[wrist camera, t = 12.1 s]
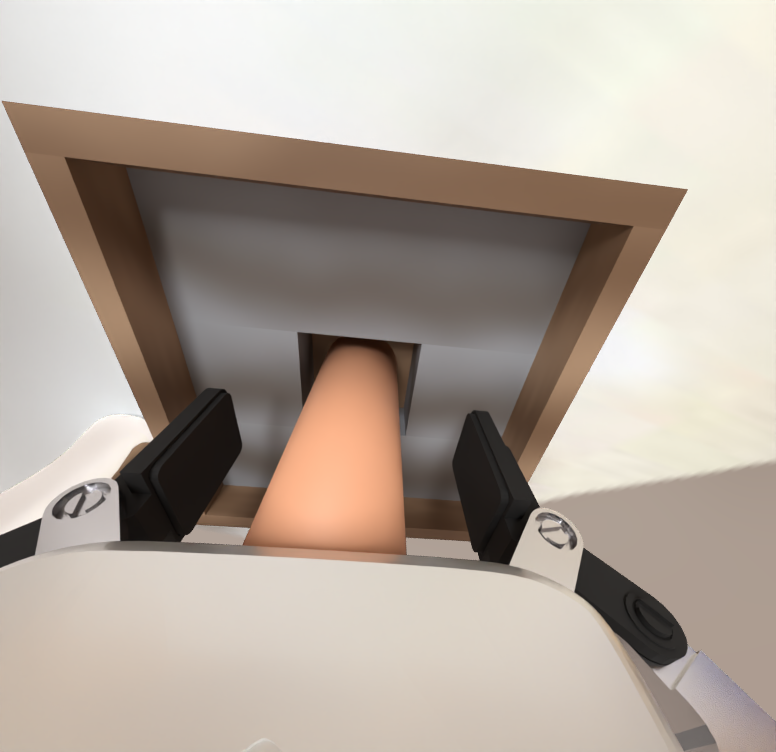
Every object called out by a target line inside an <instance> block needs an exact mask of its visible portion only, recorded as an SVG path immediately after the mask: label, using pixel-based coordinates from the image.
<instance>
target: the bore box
mask: <svg viewBox="0 0 776 752" xmlns="http://www.w3.org/2000/svg"><path fill="white" fill-rule="evenodd" d="M2 103H3V105H4V107H5V110H6V112H7V114H8V116H9V119H10V121H11V123H12V125H13V127H14V130H15V132H16V134H17V136H18V139H19V141H20V143H21V145H22V147H23V150H24V152H25V154H26V156H27V159H28V161H29V163H30V165H31V168H32V170H33V172H34V174H35V176H36V179H37V181H38V183H39V185H40V188H41V190H42V192H43V194H44V196H45V199H46V201H47V203H48V205H49V208H50V210H51V212H52V214H53V216H54V219H55V221H56V223H57V225H58V228H59V230H60V232H61V234H62V237H63V239H64V241H65V243H66V245H67V248H68V250H69V252H70V254H71V257H72V259H73V261H74V263H75V265H76V268H77V270H78V272H79V274H80V277H81V279H82V281H83V283H84V285H85V288H86V290H87V292H88V294H89V297H90V299H91V301H92V303H93V305H94V308H95V310H96V312H97V314H98V317H99V319H100V321H101V323H102V326H103V328H104V330H105V332H106V334H107V337H108V339H109V341H110V343H111V346H112V348H113V350H114V352H115V354H116V357H117V359H118V361H119V363H120V366H121V368H122V370H123V372H124V374H125V377H126V379H127V381H128V383H129V386H130V388H131V390H132V392H133V395H134V397H135V399H136V401H137V403H138V406H139V408H140V410H141V412H142V415H143V417H144V419H145V421H146V423H147V426H148V428H149V430H150V432H151V435H152V437H153V439H154V438H155V437H156V436H157V435H158V434H159V433H160V432H161V431H162V430H163V429H164V428H166V427H167V426H168V425H169V424H170V423H171V422H172V421H173V420H174V419H175V418H176V417H177V416H178V415H179V414H180V413H181V412H182V411H183V410H184V409H185V408H186V407H187V406H188V405H189V404H191V403H192V402H193V401H194V400H195V399H196V398H197V397H198V396H199V395H200V394H201V393H202V392H203V391H204V390H205V389H207V388H219V389H225V390H226V391H227V393H230V394H231V397H232V401H233V406H234V410H235V414H236V419H237V423H238V427H239V432H240V436H241V440H242V450H241V452H240V454H239V456H238V457H237V459H236V461H235V462H234V464H233V465H232V467H231V469H230V470H229V472H228V474H227V475H226V477H225V478H224V480H223V482H222V483H221V485H220V486H219V488H218V490H217V491H216V493H215V494H214V496H213V498H212V499H211V501H210V503H209V504H208V506H207V507H206V509H205V511H204V512H203V514H202V515H201V517H200V519H199V520H198V522H197V524H196V525H212V526H229V527H245V528H250V527H251V525H252V522H253V520H254V518H255V516H256V513H257V511H258V509H259V506H260V504H261V502H262V500H263V497H264V495H265V493H266V491H267V488H268V486H269V484H270V482H271V479H272V477H273V475H274V472H275V470H276V468H277V466H278V463H279V461H280V459H281V457H282V454H283V452H284V450H285V448H286V445H287V443H288V441H289V438H290V436H291V434H292V432H293V429H294V427H295V425H296V423H297V420H298V418H299V416H300V414H301V411H302V409H303V407H304V404H305V402H306V400H307V398H308V395H309V393H310V391H311V389H312V386H313V384H314V382H315V380H316V377H317V375H318V373H319V370H320V368H321V366H322V364H323V361H324V359H325V357H326V355H327V352H328V350H329V348H330V346H331V345H332V344H333V343H334V342H335V341H336V340H337V339H338V338H340V337H341V336H345V337H355V338H365V339H376V340H385V341H386V342H387V343H388V344H389V345H390V347H391V348H392V350H393V351H394V354H395V357H396V363H397V381H398V400H399V419H400V439H401V458H402V477H403V496H404V516H405V535H406V537H408V538H424V539H440V540H458V541H470V537H469V533H468V529H467V525H466V521H465V517H464V513H463V509H462V505H461V501H460V497H459V493H458V489H457V485H456V481H455V476H454V472H453V468H452V460H453V457H454V454H455V450H456V447H457V444H458V441H459V438H460V435H461V431H462V428H463V425H464V422H465V419H466V416H467V414H468V413H471V412H472V411H473V410H478V411H487V412H489V414H490V416H491V418H492V420H493V422H494V424H495V426H496V428H497V430H498V432H499V434H500V436H501V438H502V440H503V442H504V444H505V445H506V446H508V447H509V448H510V450H511V452H512V454H513V456H514V458H515V459H516V461H517V463H518V465H519V467H520V469H521V471H522V473H523V475H524V477H525V479H526V481H527V483H528V481H529V480H530V478H531V476H532V474H533V472H534V470H535V469H536V467H537V465H538V463H539V461H540V459H541V458H542V456H543V454H544V452H545V450H546V448H547V447H548V445H549V443H550V441H551V439H552V437H553V436H554V434H555V432H556V430H557V428H558V426H559V425H560V423H561V421H562V419H563V417H564V415H565V414H566V412H567V410H568V408H569V406H570V404H571V403H572V401H573V399H574V397H575V395H576V394H577V392H578V390H579V388H580V386H581V384H582V383H583V381H584V379H585V377H586V375H587V373H588V372H589V370H590V368H591V366H592V364H593V362H594V361H595V359H596V357H597V355H598V353H599V351H600V350H601V348H602V346H603V344H604V342H605V340H606V339H607V337H608V335H609V333H610V331H611V329H612V328H613V326H614V324H615V322H616V320H617V318H618V317H619V315H620V313H621V311H622V309H623V307H624V306H625V304H626V302H627V300H628V298H629V296H630V295H631V293H632V291H633V289H634V287H635V285H636V284H637V282H638V280H639V278H640V276H641V274H642V273H643V271H644V269H645V267H646V265H647V264H648V262H649V260H650V258H651V256H652V254H653V253H654V251H655V249H656V247H657V245H658V243H659V242H660V240H661V238H662V236H663V234H664V232H665V231H666V229H667V227H668V225H669V223H670V221H671V220H672V218H673V216H674V214H675V212H676V210H677V209H678V207H679V205H680V203H681V201H682V199H683V198H684V196H685V194H686V192H687V190H688V189H680V188H672V187H665V186H657V185H649V184H641V183H634V182H626V181H618V180H611V179H603V178H595V177H587V176H580V175H572V174H564V173H556V172H549V171H541V170H533V169H525V168H518V167H510V166H502V165H494V164H487V163H479V162H471V161H463V160H456V159H448V158H440V157H432V156H425V155H417V154H409V153H402V152H394V151H386V150H378V149H371V148H363V147H355V146H347V145H340V144H332V143H324V142H316V141H309V140H301V139H293V138H285V137H278V136H270V135H262V134H254V133H247V132H239V131H231V130H223V129H216V128H208V127H200V126H193V125H185V124H177V123H169V122H162V121H154V120H146V119H138V118H131V117H123V116H115V115H107V114H100V113H92V112H84V111H76V110H69V109H61V108H53V107H45V106H38V105H30V104H22V103H14V102H7V101H2Z"/></svg>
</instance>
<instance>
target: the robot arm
mask: <svg viewBox="0 0 776 752" xmlns="http://www.w3.org/2000/svg"><path fill="white" fill-rule="evenodd" d="M241 450H242V440H241V436H240V432H239V427H238V423H237V419H236V414H235V410H234V406H233V401H232V397H231V394H230V393H227V391H226V390H225V389H219V388H207V389H205V390H204V391H203V392H202V393H201V394H200V395H199V396H198V397H197V398H196V399H195V400H194V401H193V402H192V403H191V404H189V405H188V406H187V407H186V408H185V409H184V410H183V411H182V412H181V413H180V414H179V415H178V416H177V417H176V418H175V419H174V420H173V421H172V422H171V423H170V424H169V425H168V426H167V427H166V428H164V429H163V430H162V431H161V432H160V433H159V434H158V435H157V436H156V437H155V438H154V439H153V440H152V441H151V442H150V443H149V444H148V445H147V446H146V447H145V448H144V449H143V450H142V451H141V452H139V453H138V454H137V455H136V456H135V457H134V458H133V459H132V460H131V461H130V462H129V463H128V464H127V465H126V466H125V467H124V468H123V469H122V470H121V471H120V472H119V473H120V475H119V476H118V477H117V478H116V479H115V480H113V479H110V478H96V479H92V480H88V481H84V482H82V483H79V484H77V485H75V486H72V487H71V488H69V489H67V490H65V491H64V492H62V493H61V494H59V495H58V496H57V497H56V498H54V499H53V500H52V501H51V502H50V503H49V505H48V506H47V507H46V509H45V511H44V513H43V516H42V518H40V519H38V520H35V521H33V522H30V523H28V524H25V525H23V526H21V527H18V528H16V529H13V530H11V531H9V532H6V533H4V534H1V535H0V752H776V722H775V720H773V719H772V718H771V717H770V716H769V715H768V714H767V713H766V712H765V711H764V710H763V709H762V708H761V707H760V706H759V705H758V704H757V703H755V701H753V700H752V699H751V698H750V697H749V696H748V695H747V694H746V693H745V692H744V691H743V690H742V689H741V688H740V687H739V686H738V685H737V684H736V683H734V682H733V681H732V680H731V679H730V678H729V677H728V676H727V675H726V674H725V673H724V672H723V671H722V670H721V669H720V668H719V667H718V666H717V665H716V664H714V663H713V661H711V660H710V659H709V658H708V657H707V656H706V655H705V654H704V653H703V652H702V651H701V650H700V651H698V652H695V651H694V650H693V649H692V648H691V647H690V646H689V645H688V644H687V640H686V637H685V635H684V632H683V630H682V628H681V626H680V625H679V624H678V622H677V621H676V619H675V618H674V616H673V615H672V614H671V613H670V612H669V611H668V610H667V609H666V608H665V607H664V606H663V605H662V604H661V603H660V602H659V601H657V600H656V599H655V598H654V597H652V596H651V595H650V594H648V593H647V592H645V591H644V590H643V589H641V588H640V587H638V586H637V585H636V584H634V583H633V582H631V581H630V580H628V579H627V578H626V577H624V576H623V575H621V574H620V573H618V572H617V571H616V570H614V569H613V568H611V567H610V566H609V565H607V564H605V563H604V562H603V561H602V560H600V559H599V558H597V557H596V556H594V555H593V554H591V553H590V552H589V551H587V550H586V549H585V548H583V540H582V537H581V534H580V532H579V531H578V530H577V528H576V526H575V525H574V524H573V523H572V522H571V521H570V520H569V519H568V518H566V517H565V516H563V515H562V514H560V513H559V512H557V511H555V510H552V509H548V508H540V506H539V505H538V503H537V501H536V499H535V497H534V495H533V493H532V491H531V489H530V487H529V485H528V483H527V481H526V479H525V477H524V475H523V473H522V471H521V469H520V467H519V465H518V463H517V461H516V459H515V458H514V456H513V454H512V452H511V450H510V448H509V447H508V446H506V445H505V444H504V442H503V440H502V438H501V436H500V434H499V432H498V430H497V428H496V426H495V424H494V422H493V420H492V418H491V416H490V414H489V412H487V411H478V410H473V411H472V412H471V413H468V414H467V416H466V419H465V422H464V425H463V428H462V431H461V435H460V438H459V441H458V444H457V447H456V450H455V454H454V457H453V460H452V468H453V472H454V476H455V481H456V485H457V489H458V493H459V497H460V501H461V505H462V509H463V513H464V517H465V521H466V525H467V529H468V533H469V537H470V541H471V545H472V549H473V551H474V552H478V556H479V559H480V561H477V560H465V559H453V558H441V557H427V556H411V555H396V554H380V553H365V552H348V551H331V550H314V549H297V548H280V547H262V546H243V545H242V546H241V545H223V544H204V543H184V542H181V540H182V539H183V537H184V536H185V535H188V534H189V533H190V532H191V531H192V530H193V528H194V527H195V525H196V524H197V522H198V520H199V519H200V517H201V515H202V514H203V512H204V511H205V509H206V507H207V506H208V504H209V503H210V501H211V499H212V498H213V496H214V494H215V493H216V491H217V490H218V488H219V486H220V485H221V483H222V482H223V480H224V478H225V477H226V475H227V474H228V472H229V470H230V469H231V467H232V465H233V464H234V462H235V461H236V459H237V457H238V456H239V454H240V452H241Z"/></svg>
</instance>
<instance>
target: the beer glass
mask: <svg viewBox="0 0 776 752" xmlns="http://www.w3.org/2000/svg"><path fill="white" fill-rule="evenodd" d="M152 440H153V437H152V435H151V432H150V430H149V428H148V426H147V423H146V421H145V419H143V418H140V417H137V416H132V415H125V414H114V415H108V416H105V417H103V418H100V419H99V420H97V421H96V422H95V423H93V424H92V425H91V426H90V427H89V428H88V429H87V430H86V431H85V432H84V433H83V434H82V435H81V436H80V437H79V438H78V439H77V441H76V442H75V443H74V444H73V445H72V446H71V447H70V448H68V449H67V450H66V451H65V452H64V453H63V454H62V455H60V456H59V457H58V458H57V459H55V460H54V461H53V462H51V463H50V464H49V465H47V466H46V467H44V468H43V469H41V470H40V471H38V472H37V473H35V474H33V475H32V476H30V477H28V478H27V479H25V480H23V481H21V482H20V483H18V484H16V485H14V486H13V487H11V488H9V489H8V490H6V491H4V492H2V493H0V535H1V534H4V533H6V532H9V531H11V530H13V529H16V528H18V527H21V526H23V525H25V524H28V523H30V522H33V521H35V520H38V519H40V518H42V516H43V513H44V511H45V509H46V507H47V506H48V505H49V503H50V502H51V501H52V500H53V499H54V498H56V497H57V496H58V495H59V494H61V493H62V492H64V491H65V490H67V489H69V488H71V487H72V486H75V485H77V484H79V483H82V482H84V481H88V480H92V479H96V478H110V479H113V480H115V479H116V478H117V477H118V476H119V475H120V473H119V472H120V471H121V470H122V469H123V468H124V467H125V466H126V465H127V464H128V463H129V462H130V461H131V460H132V459H133V458H134V457H135V456H136V455H137V454H138V453H139V452H141V451H142V450H143V449H144V448H145V447H146V446H147V445H148V444H149V443H150V442H151V441H152Z"/></svg>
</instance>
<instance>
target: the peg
mask: <svg viewBox="0 0 776 752" xmlns="http://www.w3.org/2000/svg"><path fill="white" fill-rule="evenodd" d="M243 546H262V547H280V548H297V549H314V550H331V551H348V552H365V553H380V554H396V555H407V554H406V535H405V516H404V496H403V477H402V458H401V439H400V419H399V400H398V381H397V363H396V357H395V354H394V351H393V350H392V348H391V347H390V345H389V344H388V343H387V342H386V341H385V340H376V339H365V338H355V337H345V336H341V337H340V338H338V339H337V340H336V341H335V342H334V343H333V344H332V345H331V346H330V348H329V350H328V352H327V355H326V357H325V359H324V361H323V364H322V366H321V368H320V370H319V373H318V375H317V377H316V380H315V382H314V384H313V386H312V389H311V391H310V393H309V395H308V398H307V400H306V402H305V404H304V407H303V409H302V411H301V414H300V416H299V418H298V420H297V423H296V425H295V427H294V429H293V432H292V434H291V436H290V438H289V441H288V443H287V445H286V448H285V450H284V452H283V454H282V457H281V459H280V461H279V463H278V466H277V468H276V470H275V472H274V475H273V477H272V479H271V482H270V484H269V486H268V488H267V491H266V493H265V495H264V497H263V500H262V502H261V504H260V506H259V509H258V511H257V513H256V516H255V518H254V520H253V522H252V525H251V527H250V529H249V531H248V534H247V536H246V538H245V540H244V543H243Z"/></svg>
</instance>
